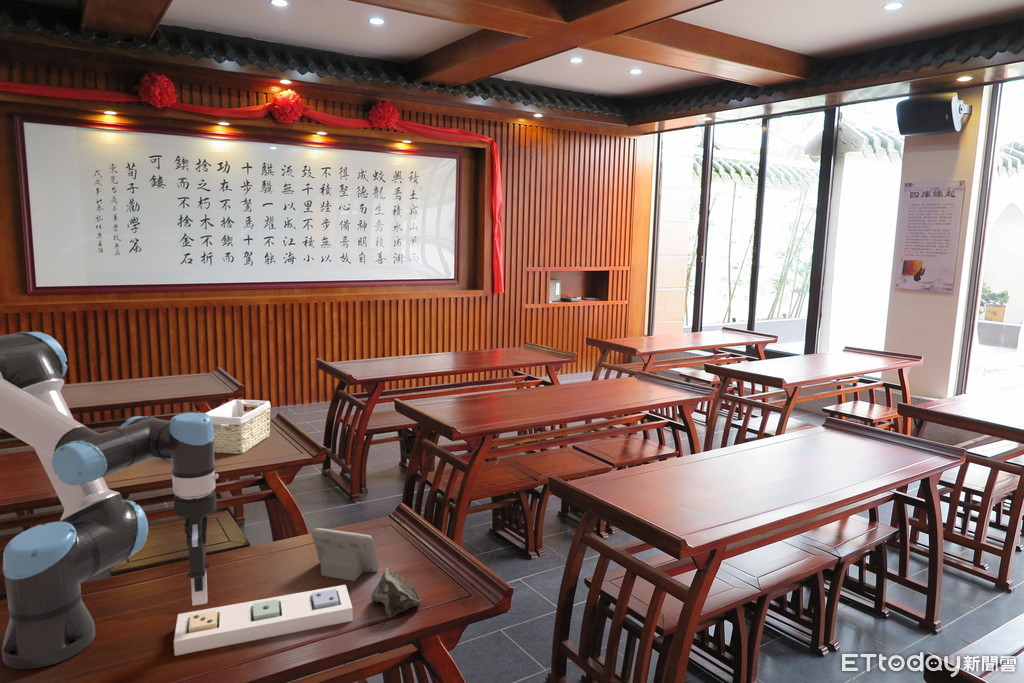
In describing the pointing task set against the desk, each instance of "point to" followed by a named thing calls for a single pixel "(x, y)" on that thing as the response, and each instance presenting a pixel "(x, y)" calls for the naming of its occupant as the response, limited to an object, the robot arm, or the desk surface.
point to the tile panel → (261, 621)
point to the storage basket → (240, 425)
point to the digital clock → (344, 553)
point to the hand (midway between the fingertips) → (199, 602)
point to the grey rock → (395, 593)
